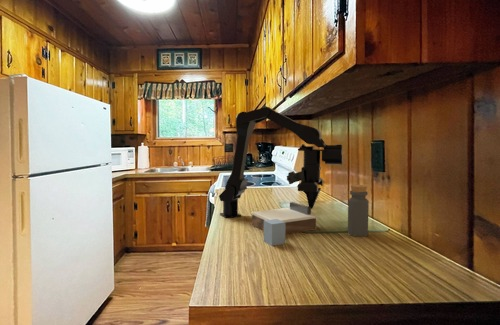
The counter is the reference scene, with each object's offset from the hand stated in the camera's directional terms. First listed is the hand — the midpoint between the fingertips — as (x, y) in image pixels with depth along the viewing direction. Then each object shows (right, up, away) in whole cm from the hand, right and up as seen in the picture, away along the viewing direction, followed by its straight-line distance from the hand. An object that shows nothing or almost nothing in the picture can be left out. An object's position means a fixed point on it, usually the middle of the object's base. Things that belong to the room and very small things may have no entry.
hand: (311, 208), depth 105 cm
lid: (-10, -2, -5) cm, 12 cm away
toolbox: (-10, -5, -5) cm, 13 cm away
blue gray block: (-15, -6, -21) cm, 26 cm away
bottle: (+12, -6, -13) cm, 18 cm away
